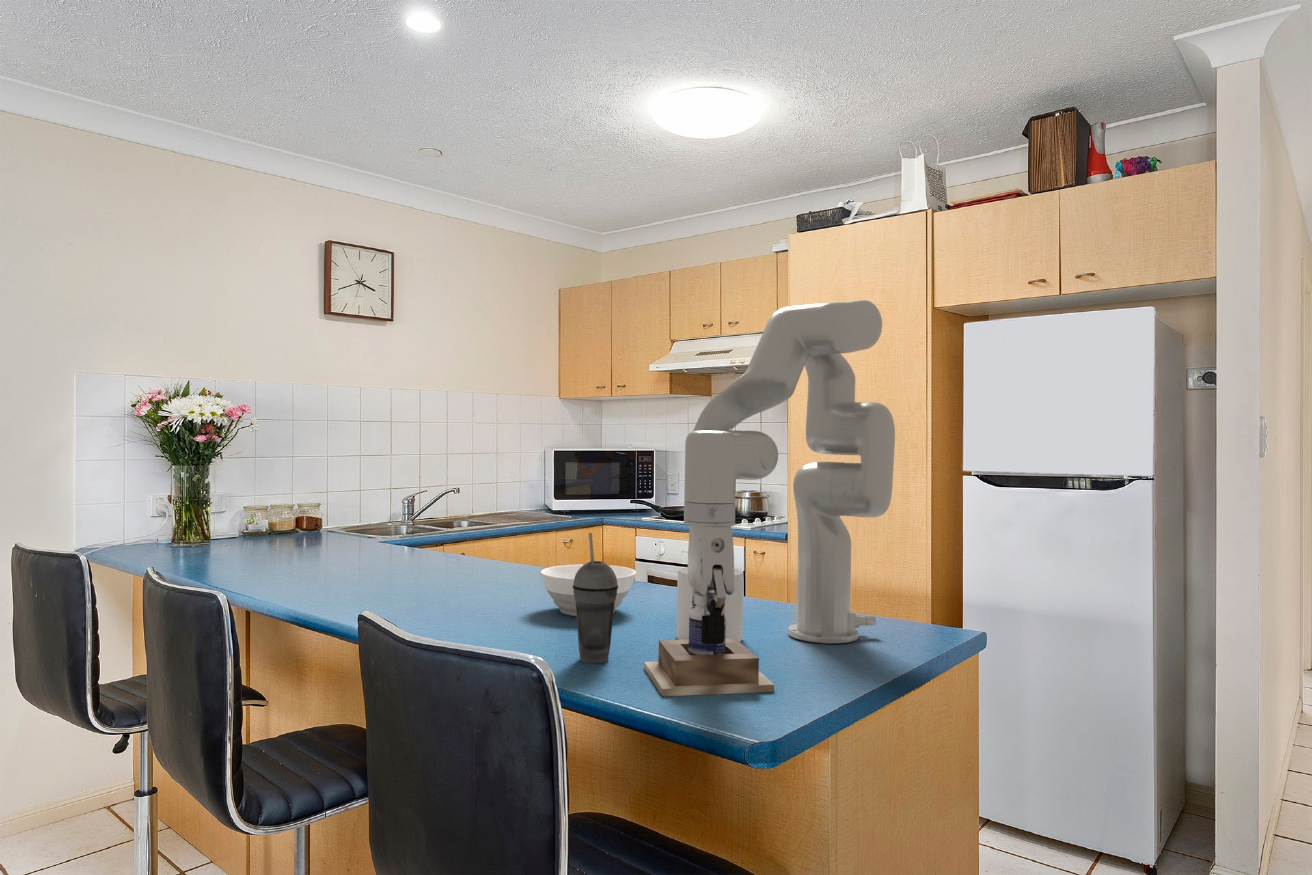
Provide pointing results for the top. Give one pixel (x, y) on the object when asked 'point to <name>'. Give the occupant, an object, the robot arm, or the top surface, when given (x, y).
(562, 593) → the bowl
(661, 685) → the hole block
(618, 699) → the top surface
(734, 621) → the white cylinder
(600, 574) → the beverage cup
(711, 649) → the pill bottle
